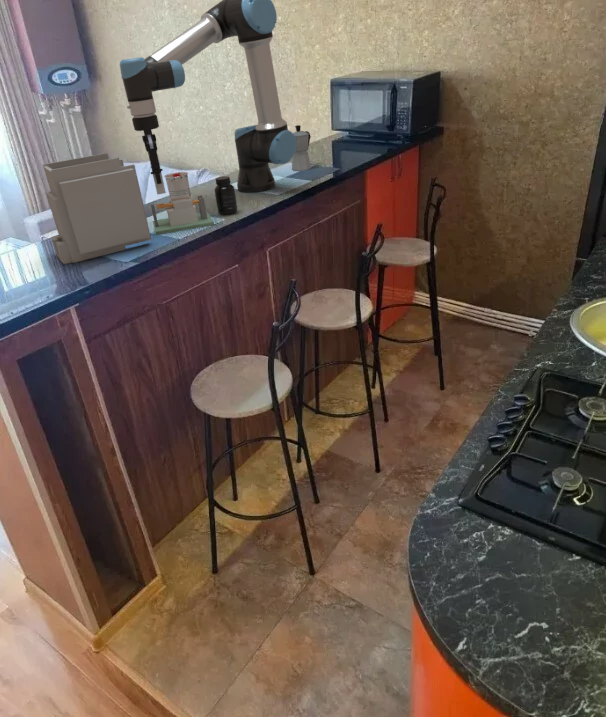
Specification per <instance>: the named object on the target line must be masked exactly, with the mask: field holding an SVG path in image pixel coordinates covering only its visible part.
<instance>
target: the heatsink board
mask: <svg viewBox="0 0 606 717" xmlns="http://www.w3.org/2000/svg"><path fill="white" fill-rule="evenodd" d="M196 197H197V200H199V204H198V208H199V212H197V207H196V204H193V203H192V200H193V199H192V197H191V198H190V196H189V195H184V196H177V197H171V199H170V201H171V200H172V202H171V203H173V206H174V207H166V208H165V210H166V214H167V217H168V218H167V217H166V218H162V219H158V218H157V213H156V208H155V203H154V202H150V203H149V204H150V208H151V213H152V216H153V217H152V218H153V220H152V225H153V228H154V233H155V235H156V236H157V235H162V234H168V233H175V232H181V231H185V230H186V231H187V230H193V229H198V228H199V229H200V228H204V227H209V226H214V225H215V221H214V219H213V218H212V217H211V215H210V214H209V212H208V211H207V209H206V204H205V198H204V197H203V194H200V195H197V196H196ZM200 197H201V198H200Z"/></svg>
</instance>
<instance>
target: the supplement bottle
mask: <svg viewBox="0 0 606 717" xmlns="http://www.w3.org/2000/svg"><path fill="white" fill-rule="evenodd" d="M215 185H216V186H215V187H214V196H215V201H216V207H217V212H218V214H219V215H220V216H230V215H234V214H236V213H237V212H238V204H237V197H236V190H235V186H234V185H233V184H232V183H231V178H230V176H227V175H224V176H219V177H218V176H217V177H215Z"/></svg>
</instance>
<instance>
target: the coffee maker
mask: <svg viewBox="0 0 606 717" xmlns="http://www.w3.org/2000/svg"><path fill="white" fill-rule="evenodd" d="M294 126H295V132H292V134H294V136H295V138H296V142H297V146H296V151H295V154H294V155H293V157H292V159H291V161H292V162H291V163H292V164H291V171H293V172H304V171H305V170H306V171H309V170H312V166H311V165H312V164H311V159H310V156H309V153H308V150H309V146H310V141H311V134H310V132H309V130H306V131H304V130H301V126H302V125H300V124H299V125H294Z"/></svg>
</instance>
